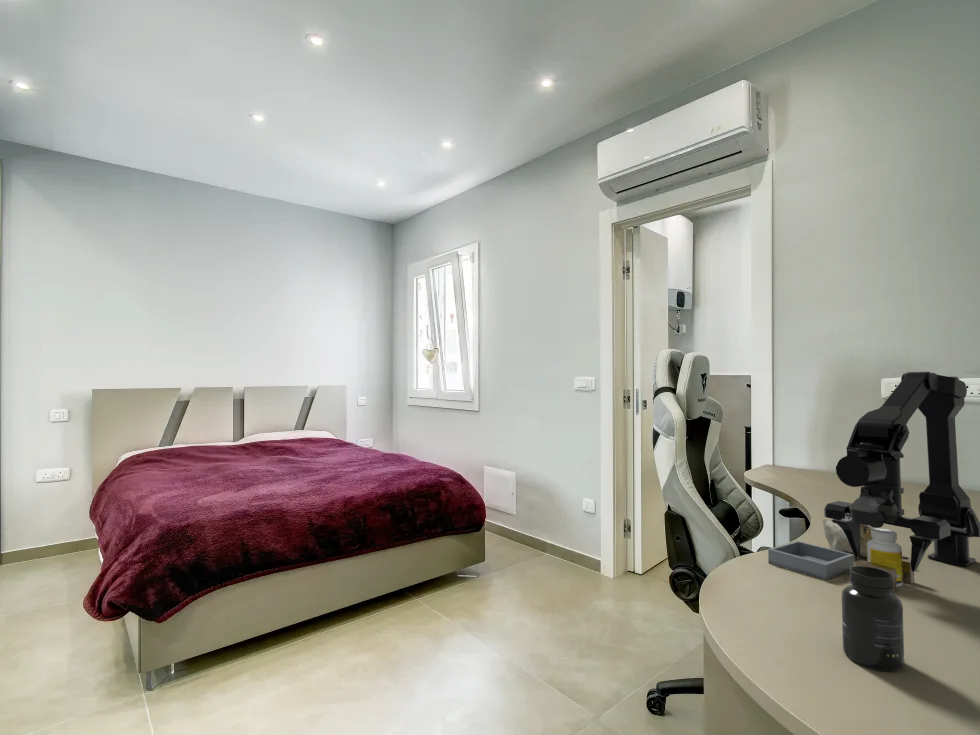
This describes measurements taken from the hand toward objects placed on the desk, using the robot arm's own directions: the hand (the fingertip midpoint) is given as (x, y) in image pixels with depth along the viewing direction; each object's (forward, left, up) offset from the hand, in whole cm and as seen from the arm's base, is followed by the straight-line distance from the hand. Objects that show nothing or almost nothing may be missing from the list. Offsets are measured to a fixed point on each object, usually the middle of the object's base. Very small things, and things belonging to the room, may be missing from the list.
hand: (884, 563), depth 98 cm
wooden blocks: (0, 0, -4) cm, 4 cm away
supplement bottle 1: (0, 0, -4) cm, 4 cm away
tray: (+3, -12, -4) cm, 13 cm away
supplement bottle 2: (+34, +12, -4) cm, 36 cm away
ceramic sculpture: (-14, -10, -4) cm, 17 cm away
